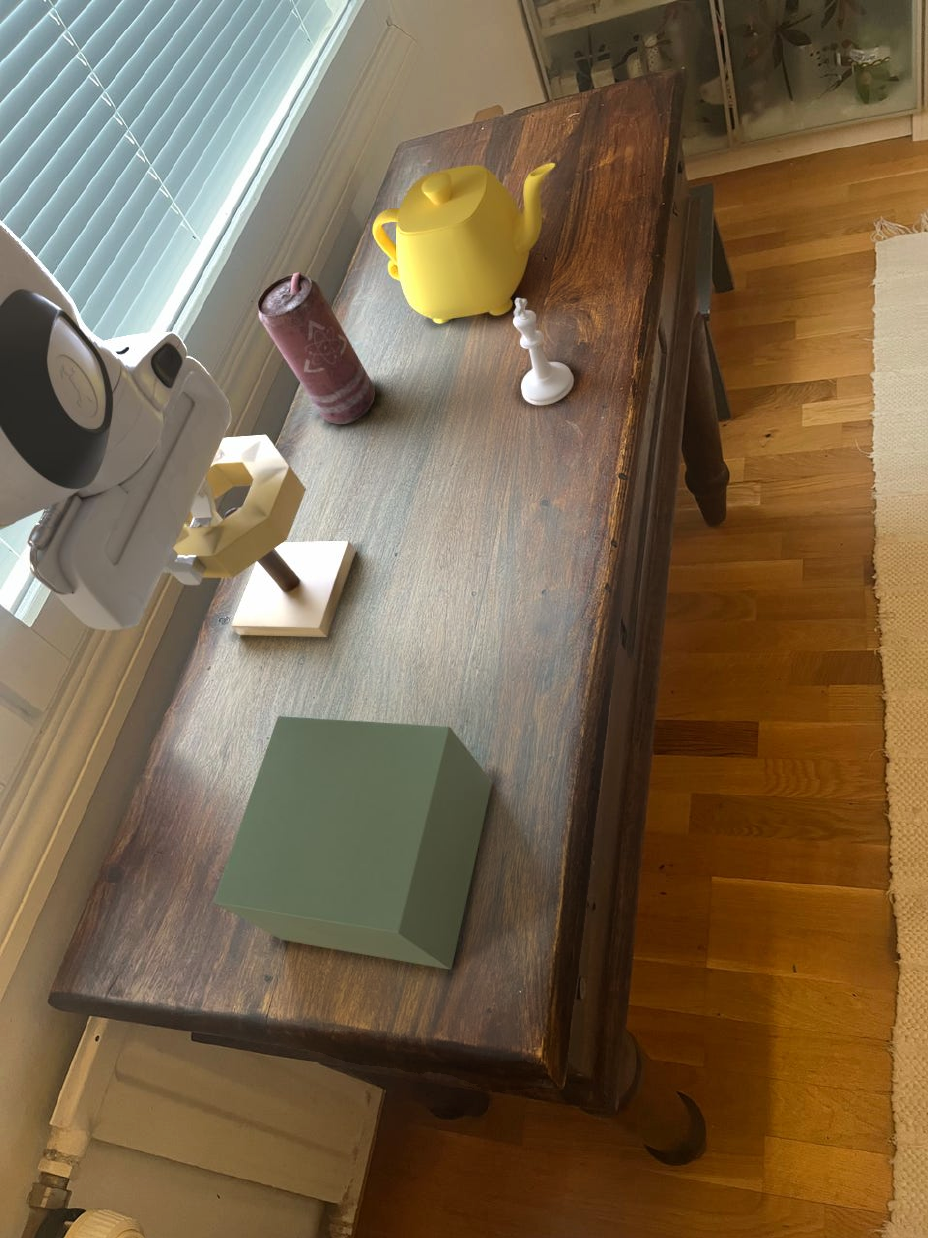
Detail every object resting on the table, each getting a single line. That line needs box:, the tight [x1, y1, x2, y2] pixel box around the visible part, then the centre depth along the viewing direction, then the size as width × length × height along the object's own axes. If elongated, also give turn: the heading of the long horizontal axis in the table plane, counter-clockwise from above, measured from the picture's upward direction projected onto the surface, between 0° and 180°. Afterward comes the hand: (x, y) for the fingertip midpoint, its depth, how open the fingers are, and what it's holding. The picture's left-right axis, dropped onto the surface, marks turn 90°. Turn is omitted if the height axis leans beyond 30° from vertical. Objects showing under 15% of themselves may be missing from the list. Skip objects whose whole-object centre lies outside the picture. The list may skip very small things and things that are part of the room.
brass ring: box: [173, 434, 307, 579], centre depth 73 cm, size 12×12×3 cm
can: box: [257, 271, 376, 425], centre depth 89 cm, size 6×6×14 cm
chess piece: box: [512, 297, 575, 406], centre depth 82 cm, size 5×5×10 cm
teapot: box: [372, 162, 556, 324], centre depth 92 cm, size 14×20×13 cm
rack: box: [223, 507, 356, 638], centre depth 78 cm, size 9×9×11 cm
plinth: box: [212, 715, 493, 970], centre depth 62 cm, size 13×13×9 cm
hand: (206, 554), depth 71 cm, fingers closed on brass ring, 3 cm apart
